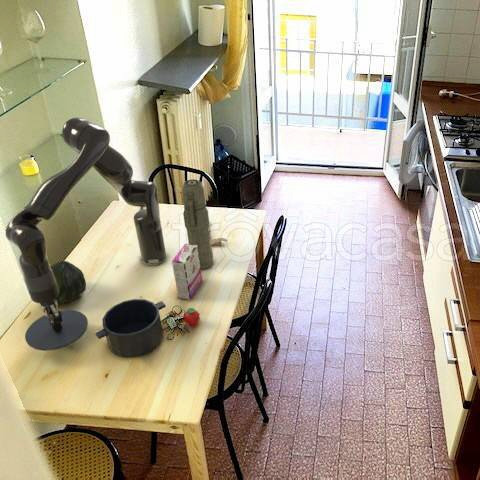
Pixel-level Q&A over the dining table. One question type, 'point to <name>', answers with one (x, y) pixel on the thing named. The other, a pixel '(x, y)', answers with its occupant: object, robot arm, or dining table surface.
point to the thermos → (197, 221)
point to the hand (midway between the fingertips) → (56, 327)
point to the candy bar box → (187, 271)
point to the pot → (132, 328)
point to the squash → (68, 281)
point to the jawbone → (216, 241)
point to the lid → (47, 339)
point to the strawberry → (191, 317)
